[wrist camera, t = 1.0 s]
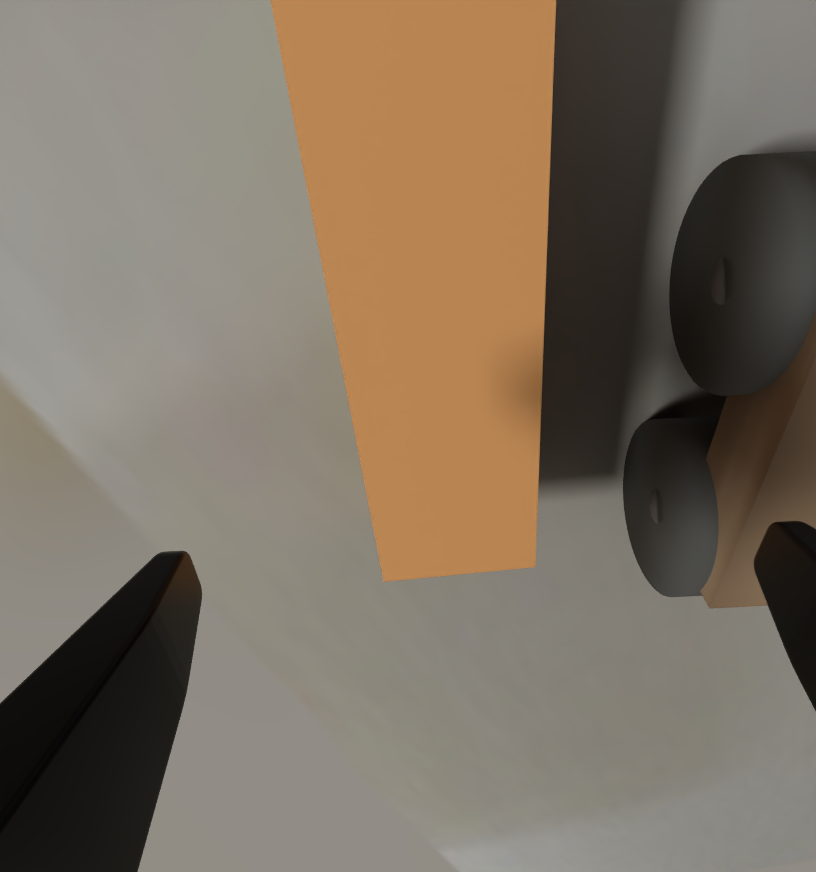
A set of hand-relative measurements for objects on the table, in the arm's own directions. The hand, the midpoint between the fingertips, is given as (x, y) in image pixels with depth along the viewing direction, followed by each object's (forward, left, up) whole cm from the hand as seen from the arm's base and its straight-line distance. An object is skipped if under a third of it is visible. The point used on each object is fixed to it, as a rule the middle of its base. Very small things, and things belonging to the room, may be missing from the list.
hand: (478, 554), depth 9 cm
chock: (0, 0, -12) cm, 12 cm away
